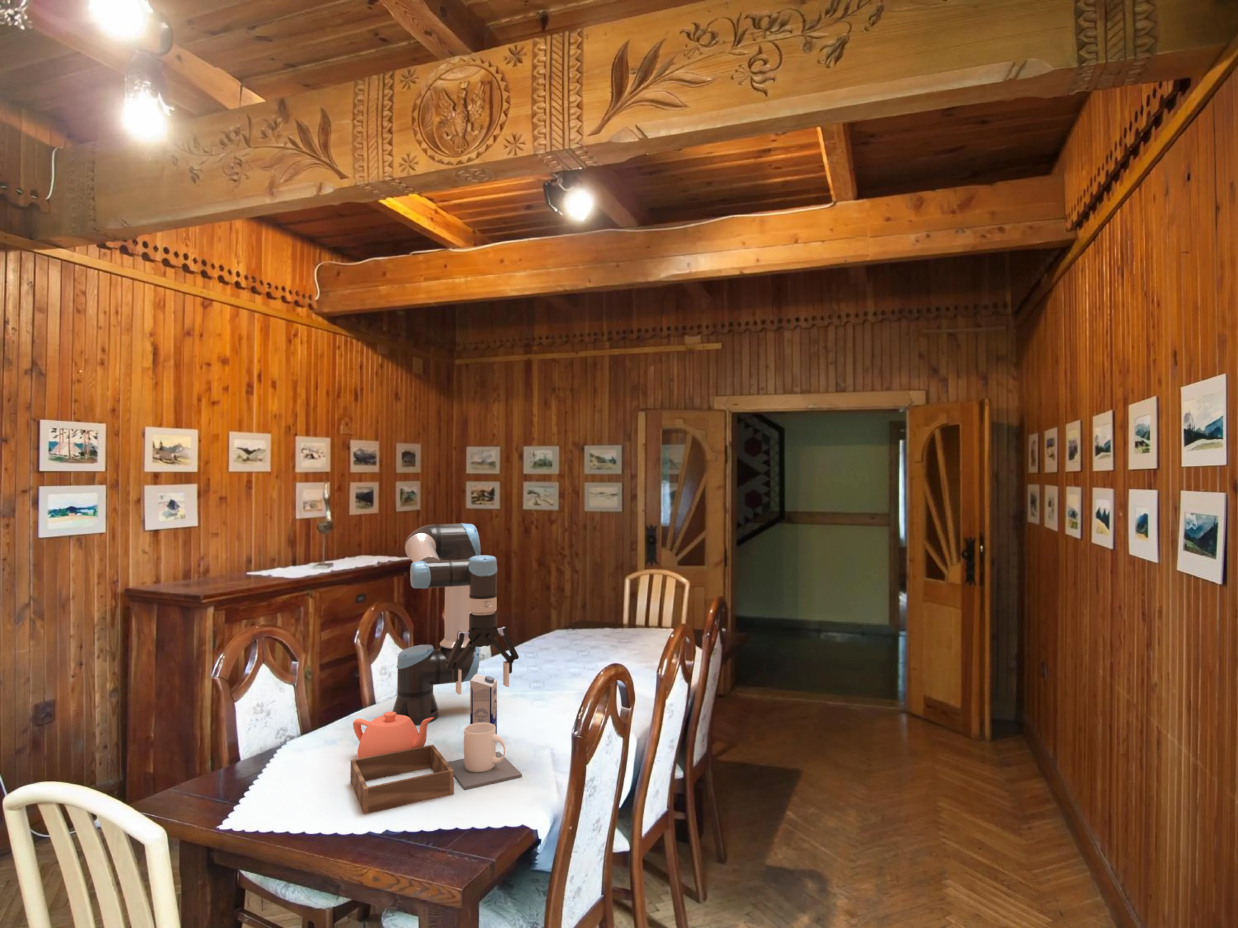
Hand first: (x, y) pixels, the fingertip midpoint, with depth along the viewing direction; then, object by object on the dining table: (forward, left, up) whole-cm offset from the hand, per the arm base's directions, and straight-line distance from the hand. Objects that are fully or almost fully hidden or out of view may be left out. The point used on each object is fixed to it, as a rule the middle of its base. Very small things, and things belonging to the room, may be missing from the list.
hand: (482, 689), depth 198 cm
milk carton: (-20, +7, -23) cm, 31 cm away
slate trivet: (0, 0, -22) cm, 22 cm away
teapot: (-20, -20, -23) cm, 36 cm away
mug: (0, +1, -22) cm, 22 cm away
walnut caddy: (0, -22, -22) cm, 31 cm away
